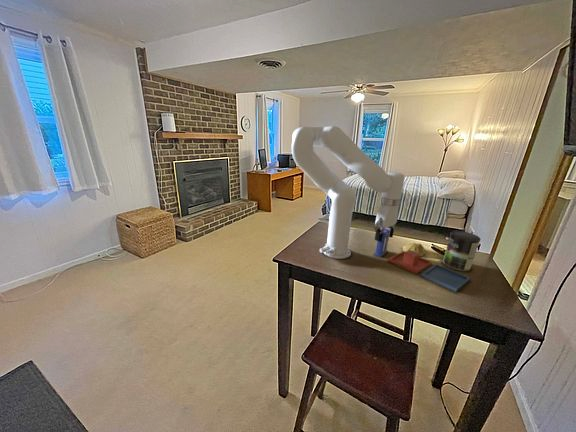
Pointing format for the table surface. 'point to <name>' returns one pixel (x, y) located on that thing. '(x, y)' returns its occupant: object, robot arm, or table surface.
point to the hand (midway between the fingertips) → (383, 238)
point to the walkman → (383, 243)
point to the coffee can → (461, 250)
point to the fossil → (415, 248)
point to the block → (411, 257)
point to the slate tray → (446, 277)
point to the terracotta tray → (416, 268)
